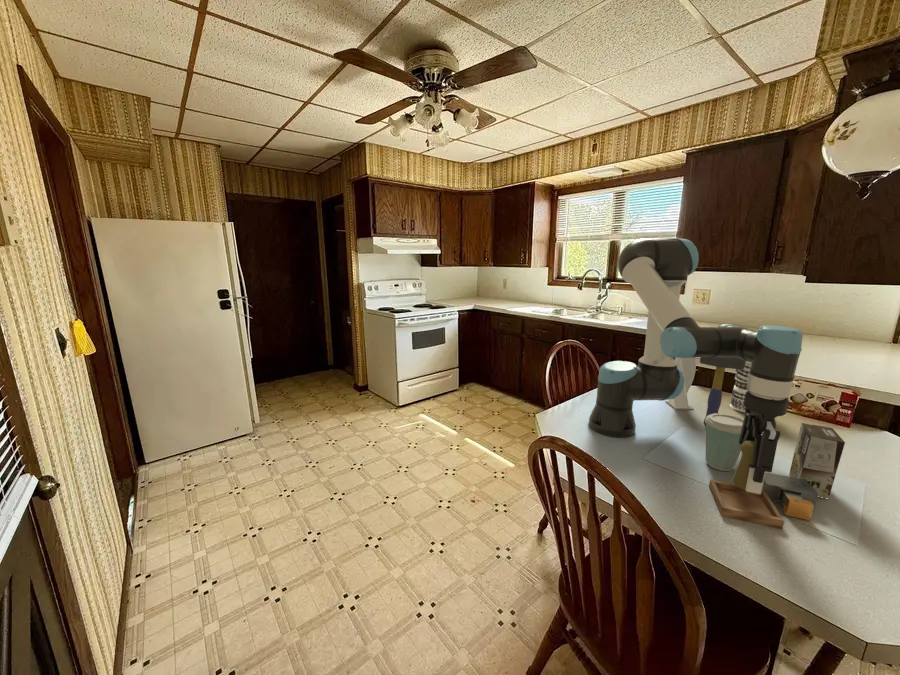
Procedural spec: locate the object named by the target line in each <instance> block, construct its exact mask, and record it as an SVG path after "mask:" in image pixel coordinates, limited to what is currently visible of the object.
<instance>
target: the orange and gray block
mask: <svg viewBox="0 0 900 675" xmlns="http://www.w3.org/2000/svg"><path fill="white" fill-rule="evenodd" d="M778 502H780V504H781V505H782V507H783V513H784V514H785V516H788V517H793V518H795V519H796V518H797V519H802V520H806V521H810V520H811V518H812V515H813V511H814V510H813V508H814V509H815V506H814V505H813V504H812V502H811V501H807V500H803V499H802V498H801V496H800V495H799V494H798V492H794V491H789V490H784V489H781V493H780V497H779V501H778Z"/></svg>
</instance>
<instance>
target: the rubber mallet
mask: <svg viewBox="0 0 900 675" xmlns="http://www.w3.org/2000/svg"><path fill="white" fill-rule="evenodd" d="M699 363H700V364H702V365H707V366H711V367H716V368H715V371H714V377H713V381H712V387H711V389H710V391H709V394H708V398H707V409H706V414H705V417H704V420H703V425H704V427H705V428H706V422H705V419H706V417H707V416H708V415H710V414H714V413H718V414H719V410H720V408H721V405H722V399H723V398H722V396H723V390H722V387H723V382H724V375H725V371H726V370H725V369H733V370H736V369H744V367H745V363H746V361H745V360H742V359H739V358H735V357H700V358H699Z"/></svg>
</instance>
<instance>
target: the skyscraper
mask: <svg viewBox="0 0 900 675" xmlns="http://www.w3.org/2000/svg"><path fill="white" fill-rule="evenodd" d="M674 360H675V361H676V362H677V363H678V365H677V367H678V368H680V369H681V371H682V372H683V375H682V376H684V387H683V390H682V392H681V393H680V395H679V396H677V397H676V398H674V399H670V400H668V401H667V400H665V403H666V404H667V405H668V406H670V407H671V408H673V410H675V411H676V410H677V411H678V410H679V411H681V410H684V411H685V410H686V411H688V410H690V411H691V410H693V411H694V408H693V407H692V406H690V405H689V401H688V399H689V398H688V392H689V391H690V389H691V386H692V384H693V382H694V379H695V374H696V371H697V370H696V368H697V358H675V357H674Z"/></svg>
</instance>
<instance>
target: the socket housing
mask: <svg viewBox="0 0 900 675" xmlns="http://www.w3.org/2000/svg"><path fill="white" fill-rule="evenodd" d="M781 489H784V490H789V491H794V492H798V494H799V495H800V496H801V498H802V499H803V500H807V501H811V502H812V504H813V505H814V508H813V509H815V506H816V503H817V502H816V501H817V498H818V497H817V495H818V494H817V492H816V491H815V490H814V489H813V488H812V486H811V485H810V484H809V483H808V482H807V481H806V480H805V479H799V478H794V477H790V476H789V475H788V476H787V475H782V474H776V473H772V472H766V473H765V477H764V491H765V492H766V493H767V495H768V496H769V498H770V499H771V501H773V503H777V502H778V503H779V502H780V501H779V497H780V493H781Z"/></svg>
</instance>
